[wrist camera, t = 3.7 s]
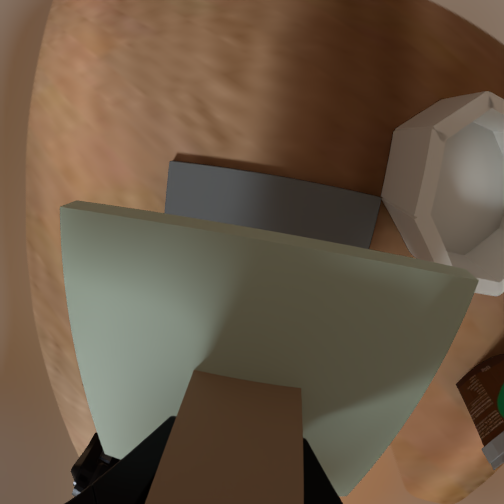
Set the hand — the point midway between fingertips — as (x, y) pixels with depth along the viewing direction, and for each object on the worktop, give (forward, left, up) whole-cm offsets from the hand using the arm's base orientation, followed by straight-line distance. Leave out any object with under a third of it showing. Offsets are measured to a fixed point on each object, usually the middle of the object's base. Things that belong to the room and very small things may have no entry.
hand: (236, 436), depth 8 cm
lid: (0, 0, -2) cm, 2 cm away
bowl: (+8, -11, -12) cm, 18 cm away
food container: (-6, -24, -12) cm, 27 cm away
